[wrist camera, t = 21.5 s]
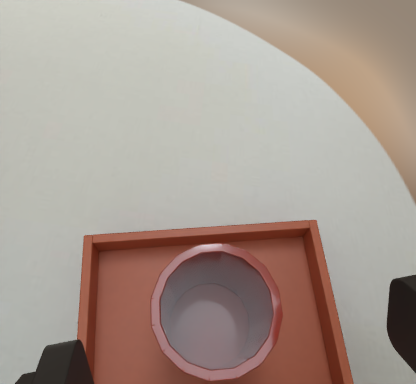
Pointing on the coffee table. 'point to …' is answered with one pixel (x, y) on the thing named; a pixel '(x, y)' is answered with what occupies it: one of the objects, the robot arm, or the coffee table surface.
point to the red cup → (216, 312)
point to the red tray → (145, 283)
